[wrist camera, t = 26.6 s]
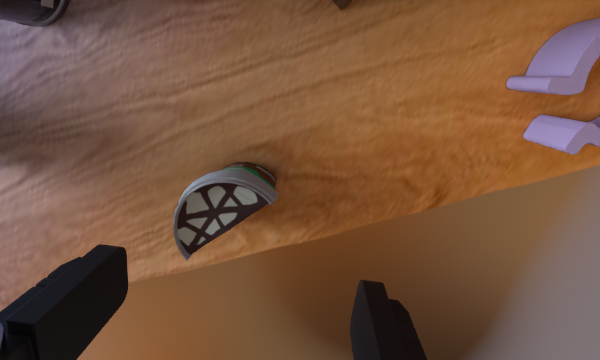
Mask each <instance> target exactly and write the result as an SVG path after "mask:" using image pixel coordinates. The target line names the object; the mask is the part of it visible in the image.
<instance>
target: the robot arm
mask: <svg viewBox="0 0 600 360" xmlns="http://www.w3.org/2000/svg"><path fill="white" fill-rule="evenodd" d="M67 4H68V0H0V20H6V21H12V22H16V23H19V24H23V25H29V26H45V25H49V24H51V23H53V22H55V21H56V20H57V19H58V18H59V17H60V16H61V15H62V14H63V12H64V11H65V9H66V7H67ZM127 290H128V273H127V254H126V250H125V248H123V247H117V246H110V245H102V244H100V245H97V246H96V247H95V248H93V249H92V250H91V251H90V252H88V253H87V254H86V255H85V256H83V257H78V258H76V259H74V260H71V261H69V262H67V263H65V264H63V265H61V266H59V267H58V268H57V269H56V270H54V271H53V272H52V273H50V274H49V275H48V277H47V278H44V279H43V280H41V281H40V282H39V283H37V284H36V286H35V287H32V288H31V289H29V290H28V291H27V292H26V293H24V294H23V295H22V296H20V297H19V298H18V299H16V300H15V301H14V302H13V303H11V304H10V305H9V306H7V307H6V308H5V309H3V310H2V311H1V312H0V360H77V358H78V357H79V356H80V355H81V353H82V352H83V351H84V350H85V349H86V347H87V346H88V345H89V344H90V343H91V341H92V340H93V339H94V338H95V336H96V335H97V334H98V333H99V332H100V330H101V329H102V328H103V327H104V326H105V324H106V323H107V322H108V321H109V320H110V318H111V317H112V316H113V314H114V313H115V312H116V311H117V310H118V309H119V307H120V306H121V305H122V303H123V302H124V300H125V297H126V294H127ZM413 326H414V325H413V323H412V320H411V317H410V315H409V312H408V311H407V310H406V309H405V308H404V307H403V305H402V304H401V303H400V302H399V301H398V300H393V299H388V296H387V292H386V290H385V286H384V284H383V283H382V282H375V281H367V280H360V281H359V284H358V288H357V293H356V298H355V302H354V307H353V311H352V316H351V324H350V335H351V343H352V351H353V358H354V360H427V358H426V356H425V353H424V350H423V348H422V345H421V343H420V340H419V339H418V335H417V333H416V330H415V328H414V327H413Z"/></svg>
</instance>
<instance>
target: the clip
mask: <svg viewBox="0 0 600 360" xmlns="http://www.w3.org/2000/svg"><path fill="white" fill-rule="evenodd" d="M599 56H600V18H596V19H591V20H586V21H582V22H578V23H575V24H573V25H570V26H568V27H566V28H564V29H563V30H561V31H559V32H558V33H556V34H555V35H554V36H552V37H551V38H550V39H549V40H548V41H547V42H546V43H545V44H544V45H543V46H542V47H541V48H540V49H539V51H538V52H537V53H536V55H535V56H534V58H533V59H532V61H531V63H530V65H529V67H528V70H527V72H526V74H525V75H524V76H512V77H510V78H509V79H508V80H507V83H506V86H507V88H508V89H513V90H518V91H525V92H537V93H549V94H561V95H572V94H578V93H581V92H582V91H583V90H584V87H585V83H586V80H587V77H588V74H589V72H590V70H591V68H592V66H593V64H594V63H595V61H596V60H597V58H598V57H599ZM523 138H524V139H526V140H528V141H531V142H534V143H537V144H541V145H544V146H547V147H550V148H553V149H557V150H560V151H563V152H566V153H569V154H576V153H578V152H579V151H580V149H581V148H582V147H583V146H584V145H585V144H586V143H587V144H591V145H594V146H598V147H600V116H599V117H598V118H596V119H594V120H592V121H589V122H583V121H577V120H572V119H566V118H560V117H555V116H549V115H544V114H541V115H539V116H538V117H537V118H535V119H534V120H533V121H532V122H531V123H530V125H529V126H528V128H527V129H526V131H525V132H524V134H523Z"/></svg>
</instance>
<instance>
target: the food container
mask: <svg viewBox="0 0 600 360" xmlns="http://www.w3.org/2000/svg"><path fill="white" fill-rule="evenodd" d="M275 185H276V178H275V177H274V176H273V175H272V173H271V172H269V171H268V170H266V169H265V168H263V167H262V166H260V165H257V164H253V163H250V162H236V163H233V164H230V165H228V166H226V167H224V168H223V169H222V170H220V171H216V172H211V173H208V174H206V175H203V176H201V177H200V178H198V179H196V180H195V181H194V182H193V183H191V184H190V185H189V186H188V187H187V189H186V190H185V191H184V193H183V194H182V196H181V198H180V200H179V202H178V204H177V207H176V210H175V213H174V220H173V230H174V237H175V241H176V244H177V247H178V249H179V250H180V252H181V254H182V256H183V257H184V258H185V259H186V261H187V260H188V259H189V258H190V256H191V255H192V254H193V253H194V252H196V251H197V250H198V249H200V248H201V247H202V246H204V245H206V244H207V243H209V242H210V241H212V240H213V239H215V238H217V237H218V236H220V235H222V234H223V233H225V232H227V231H228V230H230V229H231V228H232V227H234V226H235V225H237V224H238V223H240V222H241V221H243V220H244V219H245V218H247V217H248V216H250V215H251V214H253V213H254V212H256V211H258V210H259V209H261V208H262V207H264V206H265V205H267V204H268V203H270V204H271V205H272V204H273V202H275V200H276V199H277V197H278V195H279V194H278V193H277V192H276V191H275Z"/></svg>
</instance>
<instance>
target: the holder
mask: <svg viewBox="0 0 600 360" xmlns="http://www.w3.org/2000/svg"><path fill="white" fill-rule="evenodd" d="M333 1H334V2H335V3H336V5H337V6H338V7H339V8H340V9H341V10H343V9H344V8H345V7H346V6H347V5H348V4H349V3H350V2H351V1H352V0H333Z"/></svg>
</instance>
